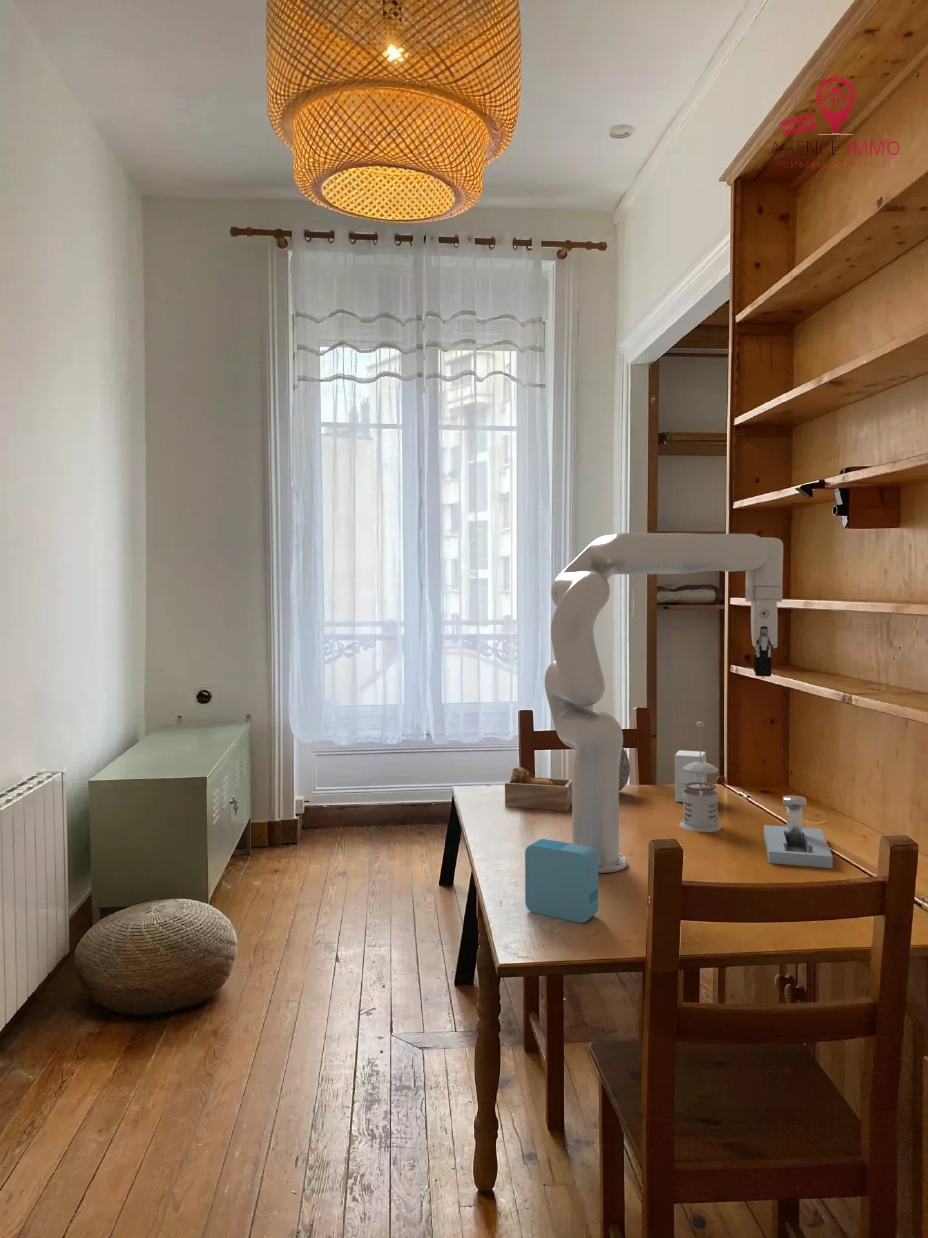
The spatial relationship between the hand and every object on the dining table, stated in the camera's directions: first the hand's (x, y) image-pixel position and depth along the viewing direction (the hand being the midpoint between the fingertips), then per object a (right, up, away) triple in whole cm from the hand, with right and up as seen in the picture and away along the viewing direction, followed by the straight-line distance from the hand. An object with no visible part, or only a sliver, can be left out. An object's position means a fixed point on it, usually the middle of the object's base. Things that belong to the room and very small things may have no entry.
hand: (762, 674), depth 180 cm
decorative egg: (-25, -37, +49) cm, 66 cm away
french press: (-8, -37, +18) cm, 42 cm away
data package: (-48, -40, -36) cm, 71 cm away
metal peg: (+8, -37, +2) cm, 38 cm away
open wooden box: (-45, -37, +39) cm, 70 cm away
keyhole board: (+7, -38, -2) cm, 38 cm away
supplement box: (-4, -37, +42) cm, 56 cm away
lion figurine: (-46, -37, +39) cm, 71 cm away
